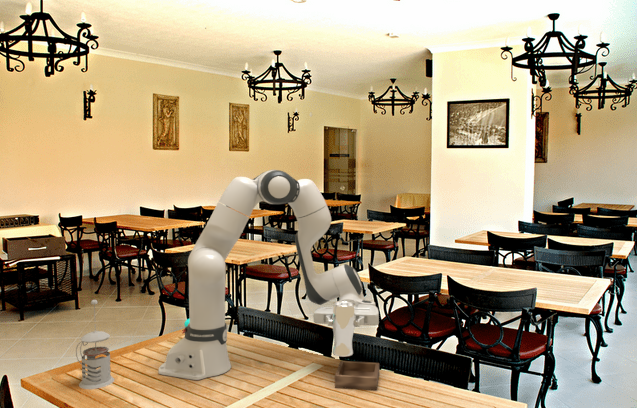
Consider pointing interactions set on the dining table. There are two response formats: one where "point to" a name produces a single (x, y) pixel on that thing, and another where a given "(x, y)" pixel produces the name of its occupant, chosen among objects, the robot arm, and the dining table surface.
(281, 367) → the dining table surface
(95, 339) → the french press
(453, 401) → the dining table surface
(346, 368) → the walnut tray
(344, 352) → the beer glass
